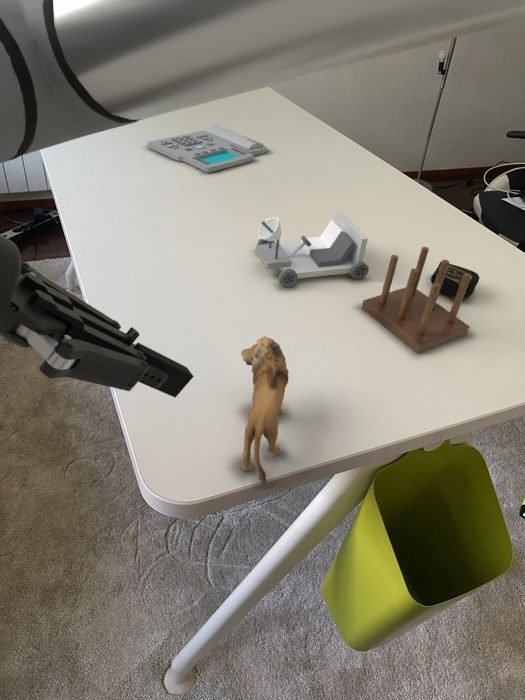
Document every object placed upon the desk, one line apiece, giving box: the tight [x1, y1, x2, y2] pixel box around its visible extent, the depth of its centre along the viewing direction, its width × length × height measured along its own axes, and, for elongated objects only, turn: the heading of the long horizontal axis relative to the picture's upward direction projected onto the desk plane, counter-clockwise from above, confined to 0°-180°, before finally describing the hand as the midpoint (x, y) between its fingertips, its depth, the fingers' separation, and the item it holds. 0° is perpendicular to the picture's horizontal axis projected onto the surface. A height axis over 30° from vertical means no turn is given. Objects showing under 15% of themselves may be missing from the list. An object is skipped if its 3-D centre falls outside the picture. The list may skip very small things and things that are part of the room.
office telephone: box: [146, 124, 268, 173], centre depth 129 cm, size 23×3×20 cm
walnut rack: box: [361, 246, 471, 354], centre depth 79 cm, size 12×10×10 cm
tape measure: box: [430, 260, 480, 300], centre depth 88 cm, size 7×7×4 cm
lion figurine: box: [240, 335, 289, 485], centre depth 59 cm, size 15×5×9 cm, turn 3°
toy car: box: [255, 210, 370, 288], centre depth 88 cm, size 18×10×12 cm
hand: (180, 382), depth 52 cm, fingers closed
